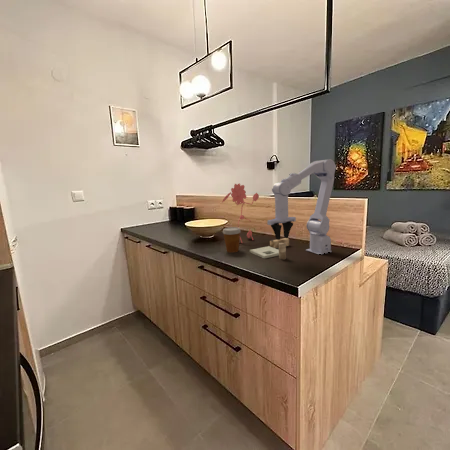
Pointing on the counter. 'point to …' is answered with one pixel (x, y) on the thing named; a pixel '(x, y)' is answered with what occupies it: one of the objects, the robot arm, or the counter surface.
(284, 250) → the loose leg
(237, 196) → the figurine
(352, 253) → the counter surface
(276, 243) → the hinged leg
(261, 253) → the stool seat
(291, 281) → the counter surface
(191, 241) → the counter surface
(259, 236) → the counter surface
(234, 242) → the disposable coffee cup
